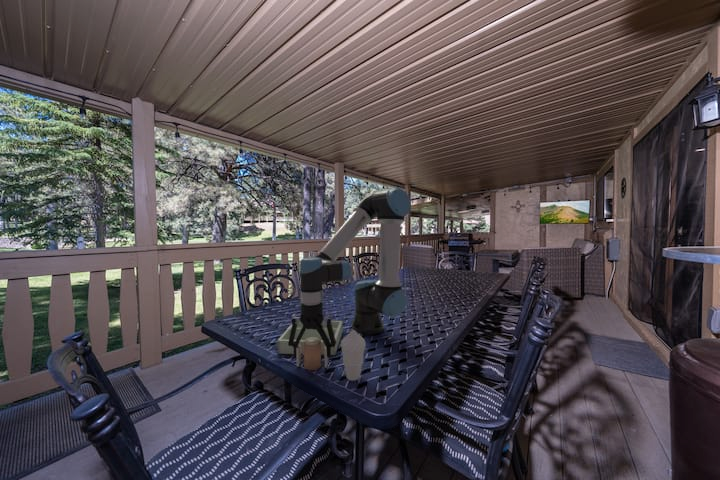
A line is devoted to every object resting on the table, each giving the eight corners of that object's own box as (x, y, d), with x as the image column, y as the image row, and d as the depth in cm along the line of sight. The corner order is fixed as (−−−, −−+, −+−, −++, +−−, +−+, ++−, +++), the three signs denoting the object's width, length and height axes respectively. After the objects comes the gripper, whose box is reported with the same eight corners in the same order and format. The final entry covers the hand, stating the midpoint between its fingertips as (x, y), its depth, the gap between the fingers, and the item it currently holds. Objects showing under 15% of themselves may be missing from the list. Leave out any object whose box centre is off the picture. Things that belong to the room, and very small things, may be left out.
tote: (342, 333, 123) (342, 320, 122) (335, 357, 101) (334, 341, 101) (295, 332, 124) (295, 320, 124) (277, 356, 102) (277, 340, 102)
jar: (322, 361, 98) (322, 336, 98) (319, 370, 92) (318, 344, 92) (306, 361, 99) (306, 336, 98) (302, 369, 93) (301, 343, 92)
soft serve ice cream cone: (340, 370, 92) (339, 324, 91) (364, 369, 92) (364, 323, 92) (340, 385, 83) (340, 334, 82) (367, 383, 84) (367, 333, 83)
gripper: (344, 299, 97) (344, 360, 98) (284, 298, 99) (285, 358, 100) (341, 305, 90) (341, 371, 91) (276, 304, 91) (278, 369, 92)
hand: (312, 364), depth 95 cm, fingers open, 9 cm apart
